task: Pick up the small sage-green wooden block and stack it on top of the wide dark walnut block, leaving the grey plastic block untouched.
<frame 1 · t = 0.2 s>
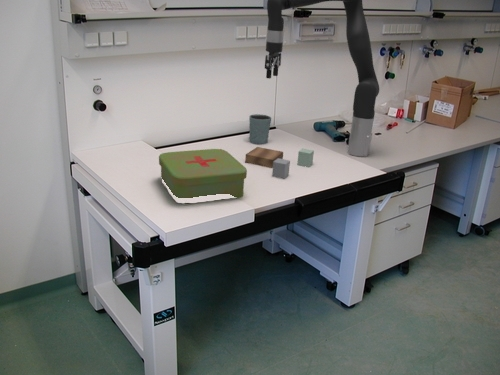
hand: (272, 77, 227), 29 cm above the lab bench, fingers open, 8 cm apart
first aid kit: (201, 188, 176), on the lab bench
grey block: (280, 175, 191), on the lab bench
green block: (304, 164, 205), on the lab bench
walnut block: (264, 162, 206), on the lab bench
grey-green plant pot: (258, 142, 231), on the lab bench
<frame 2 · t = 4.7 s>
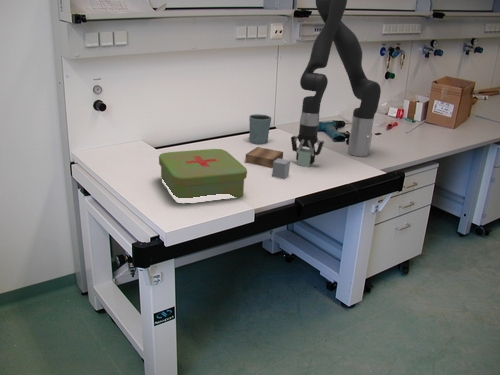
hand: (304, 162, 204), 1 cm above the lab bench, fingers closed on green block, 5 cm apart
green block: (304, 164, 205), on the lab bench, touching gripper
everything else where it was.
when the fingers open (5 cm above the lab bench, at t = 10.9 s): green block stays where it is, resting on walnut block.
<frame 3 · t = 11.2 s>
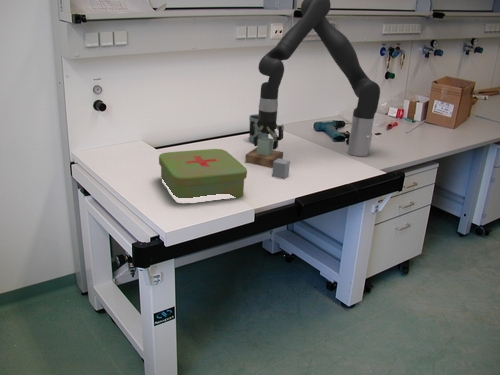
hand: (265, 147, 203), 6 cm above the lab bench, fingers open, 8 cm apart
green block: (264, 153, 204), point 3 cm above the lab bench, touching walnut block
walnut block: (264, 162, 206), on the lab bench, touching green block
everything else where it was.
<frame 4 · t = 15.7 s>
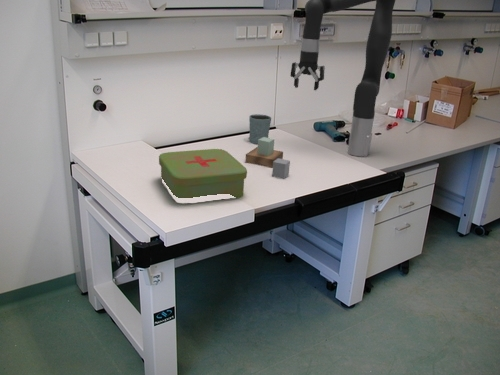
hand: (305, 88, 211), 28 cm above the lab bench, fingers open, 8 cm apart
green block: (265, 153, 204), point 3 cm above the lab bench
walnut block: (264, 162, 206), on the lab bench
everything else where it was.
at the end: green block 0.5 cm off-centre on the walnut block, point 4.0 cm above the walnut block's base; green block tilted 0°; grey block moved 0.1 cm from its start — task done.
